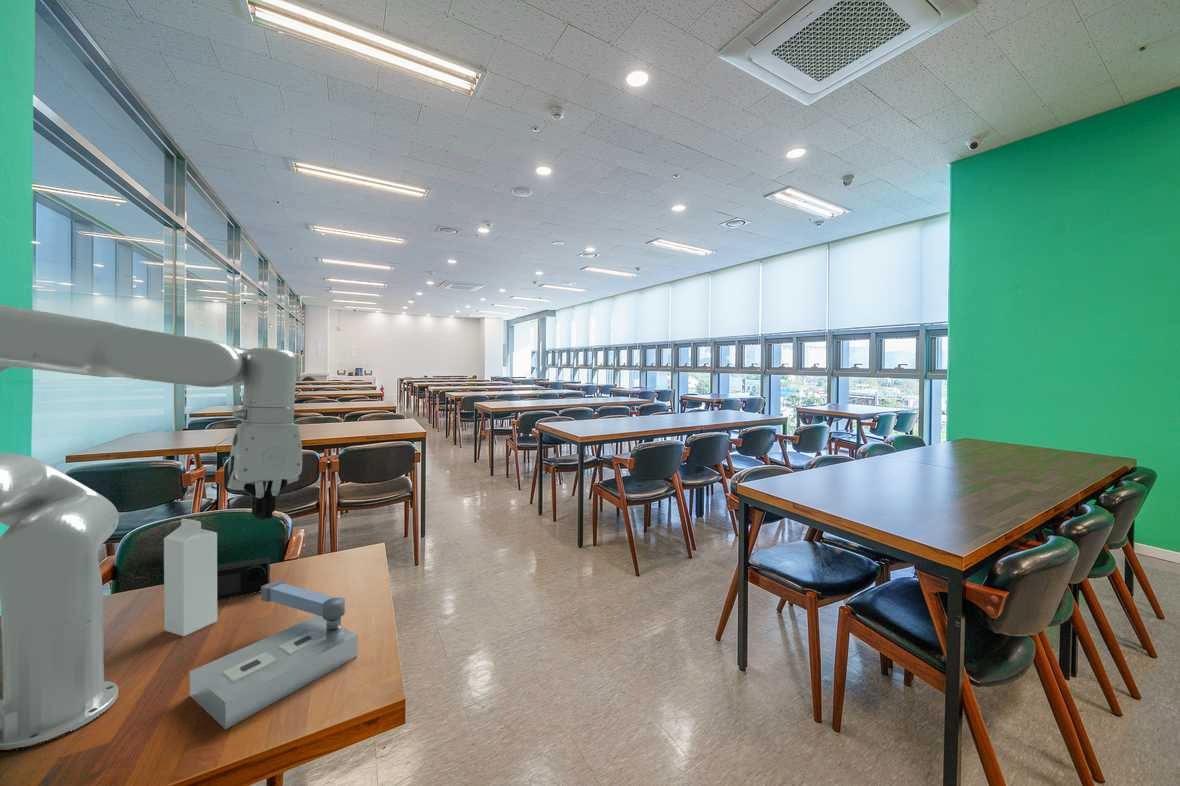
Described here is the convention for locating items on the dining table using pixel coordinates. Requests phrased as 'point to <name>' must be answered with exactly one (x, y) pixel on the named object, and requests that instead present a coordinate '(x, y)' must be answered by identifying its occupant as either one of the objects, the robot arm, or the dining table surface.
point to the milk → (190, 578)
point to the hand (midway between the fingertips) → (263, 517)
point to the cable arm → (303, 600)
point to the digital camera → (242, 577)
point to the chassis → (271, 669)
